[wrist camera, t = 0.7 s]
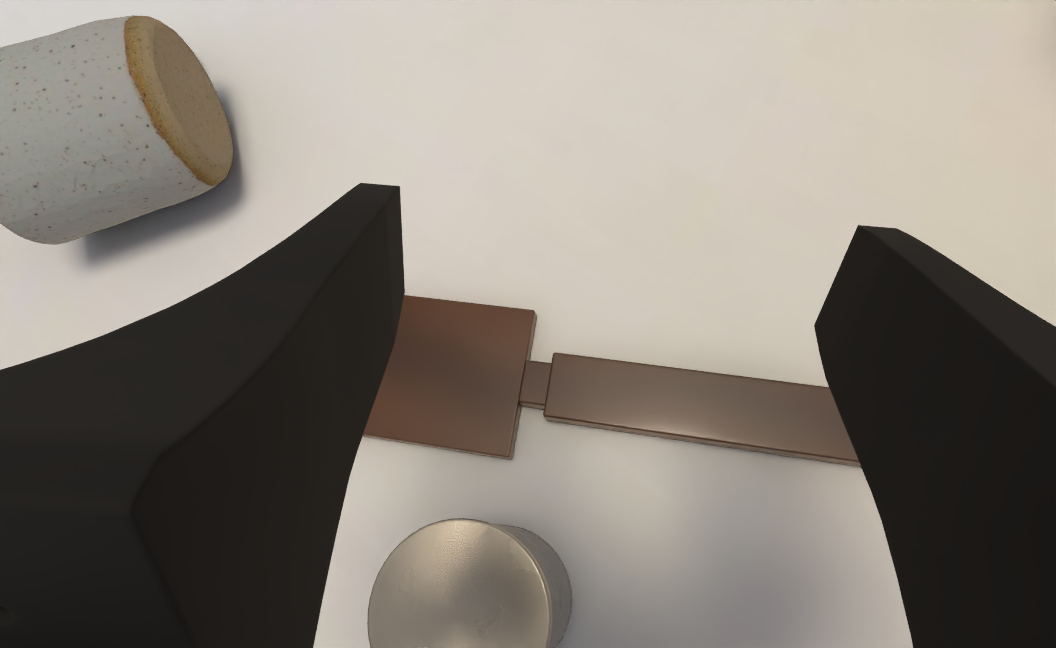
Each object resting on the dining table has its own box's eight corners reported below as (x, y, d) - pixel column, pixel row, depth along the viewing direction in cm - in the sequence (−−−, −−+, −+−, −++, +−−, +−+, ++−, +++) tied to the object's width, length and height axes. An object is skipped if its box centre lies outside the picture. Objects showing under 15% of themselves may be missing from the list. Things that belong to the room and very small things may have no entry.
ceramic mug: (258, 212, 30) (139, 105, 23) (86, 274, 31) (-85, 189, 24) (222, 30, 34) (110, -111, 27) (69, 88, 34) (-83, -36, 27)
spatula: (1027, 541, 22) (1044, 541, 22) (298, 425, 27) (286, 421, 26) (1023, 372, 24) (1039, 365, 23) (333, 291, 29) (322, 283, 28)
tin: (561, 689, 23) (533, 742, 17) (421, 658, 24) (347, 698, 18) (583, 537, 25) (564, 535, 18) (449, 513, 25) (389, 504, 19)
